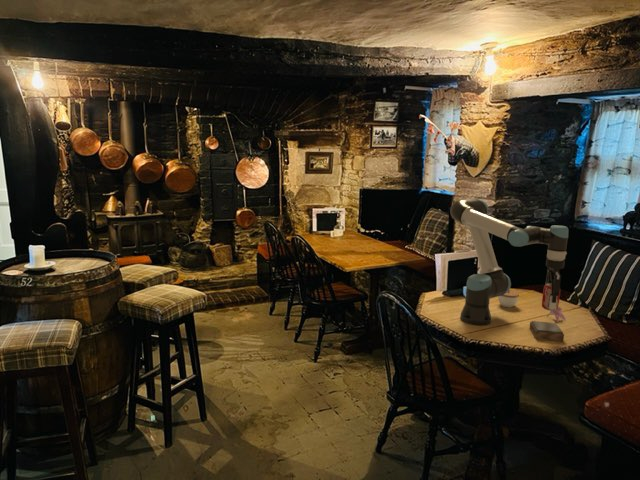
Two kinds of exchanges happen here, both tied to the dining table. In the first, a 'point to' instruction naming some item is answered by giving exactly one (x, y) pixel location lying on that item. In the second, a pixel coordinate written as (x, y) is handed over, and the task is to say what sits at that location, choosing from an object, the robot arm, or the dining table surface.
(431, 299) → the dining table surface
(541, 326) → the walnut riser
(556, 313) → the lily
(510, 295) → the lidded jar
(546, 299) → the soda can
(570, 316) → the dining table surface
